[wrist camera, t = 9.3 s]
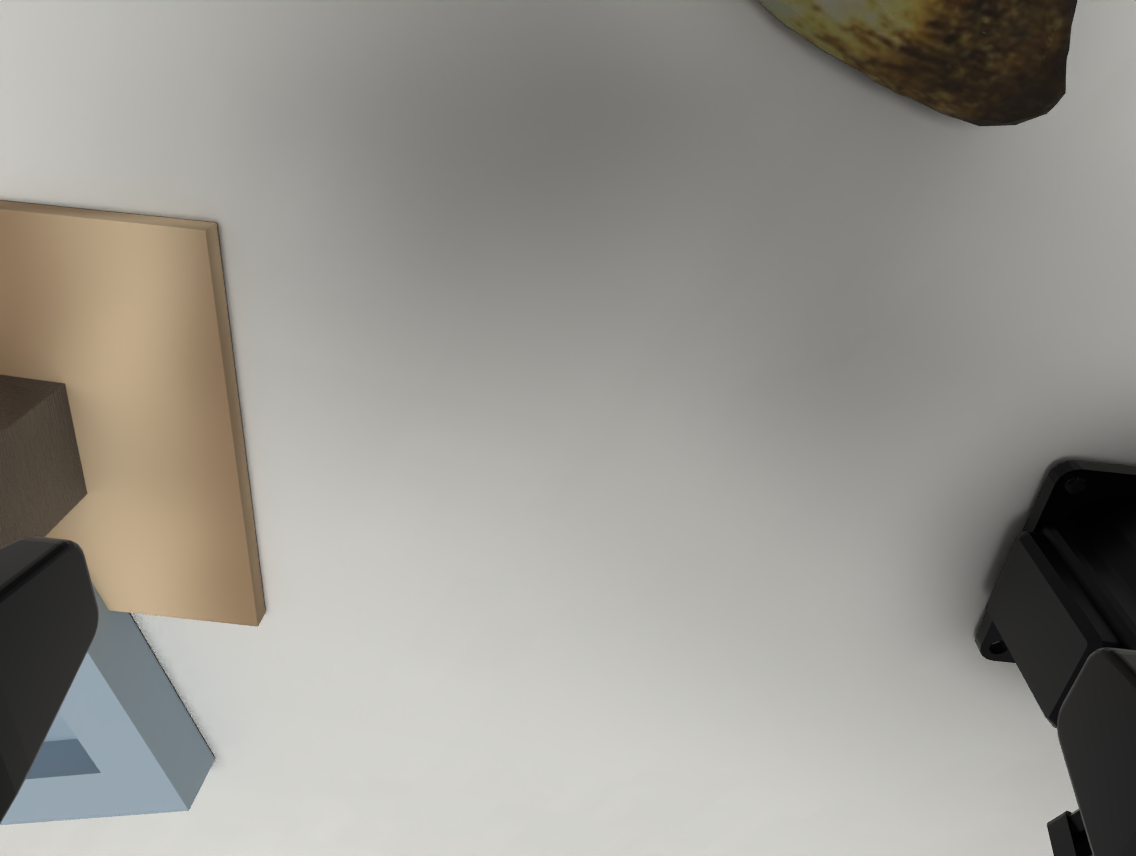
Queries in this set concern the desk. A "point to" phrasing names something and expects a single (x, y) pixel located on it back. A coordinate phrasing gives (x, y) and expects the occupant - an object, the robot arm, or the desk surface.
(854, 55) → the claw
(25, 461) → the grey hook block
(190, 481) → the tan metal pad
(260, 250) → the desk surface
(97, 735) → the square socket block
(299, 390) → the desk surface
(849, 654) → the desk surface
